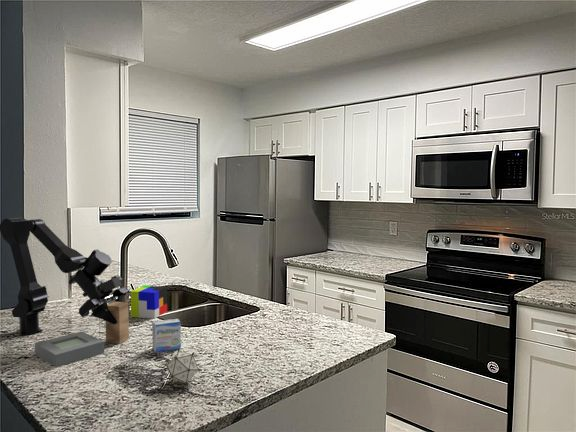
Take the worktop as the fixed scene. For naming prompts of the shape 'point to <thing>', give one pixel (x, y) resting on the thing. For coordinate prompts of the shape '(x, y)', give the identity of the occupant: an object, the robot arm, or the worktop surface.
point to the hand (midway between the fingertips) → (121, 320)
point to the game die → (182, 367)
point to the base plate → (69, 348)
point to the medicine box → (166, 335)
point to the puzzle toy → (148, 301)
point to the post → (118, 323)
